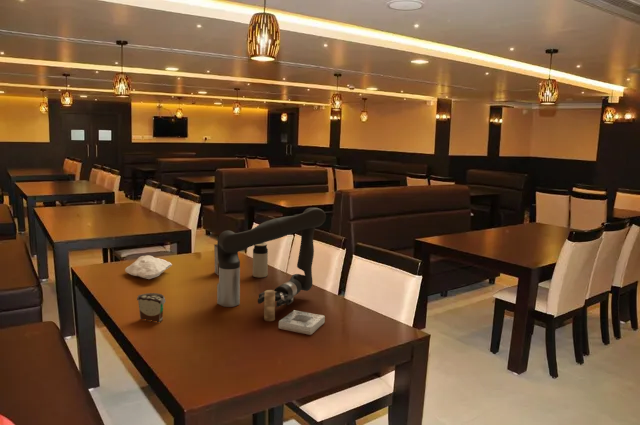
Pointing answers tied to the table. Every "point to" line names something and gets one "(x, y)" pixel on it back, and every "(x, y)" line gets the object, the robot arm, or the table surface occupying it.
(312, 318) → the beige flat square frame
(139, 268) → the crumpled cloth
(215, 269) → the coffee box
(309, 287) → the robot arm
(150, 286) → the table surface
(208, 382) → the table surface
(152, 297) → the food container
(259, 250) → the travel mug
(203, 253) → the table surface
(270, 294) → the peg
